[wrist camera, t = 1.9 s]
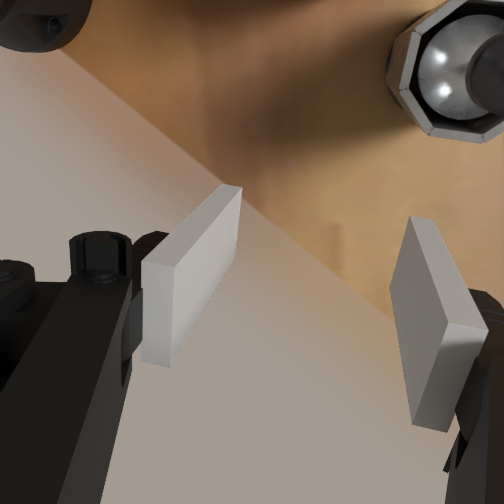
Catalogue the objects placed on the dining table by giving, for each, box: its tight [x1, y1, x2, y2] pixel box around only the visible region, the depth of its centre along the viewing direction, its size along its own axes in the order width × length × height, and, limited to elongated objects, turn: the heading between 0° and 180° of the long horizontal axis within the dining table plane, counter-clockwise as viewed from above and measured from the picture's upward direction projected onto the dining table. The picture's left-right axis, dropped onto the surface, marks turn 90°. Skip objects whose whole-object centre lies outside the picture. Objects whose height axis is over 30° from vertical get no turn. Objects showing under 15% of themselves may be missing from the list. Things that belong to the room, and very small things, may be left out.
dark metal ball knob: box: [418, 15, 504, 119], centre depth 26 cm, size 7×7×11 cm
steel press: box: [385, 0, 504, 144], centre depth 35 cm, size 9×10×14 cm
